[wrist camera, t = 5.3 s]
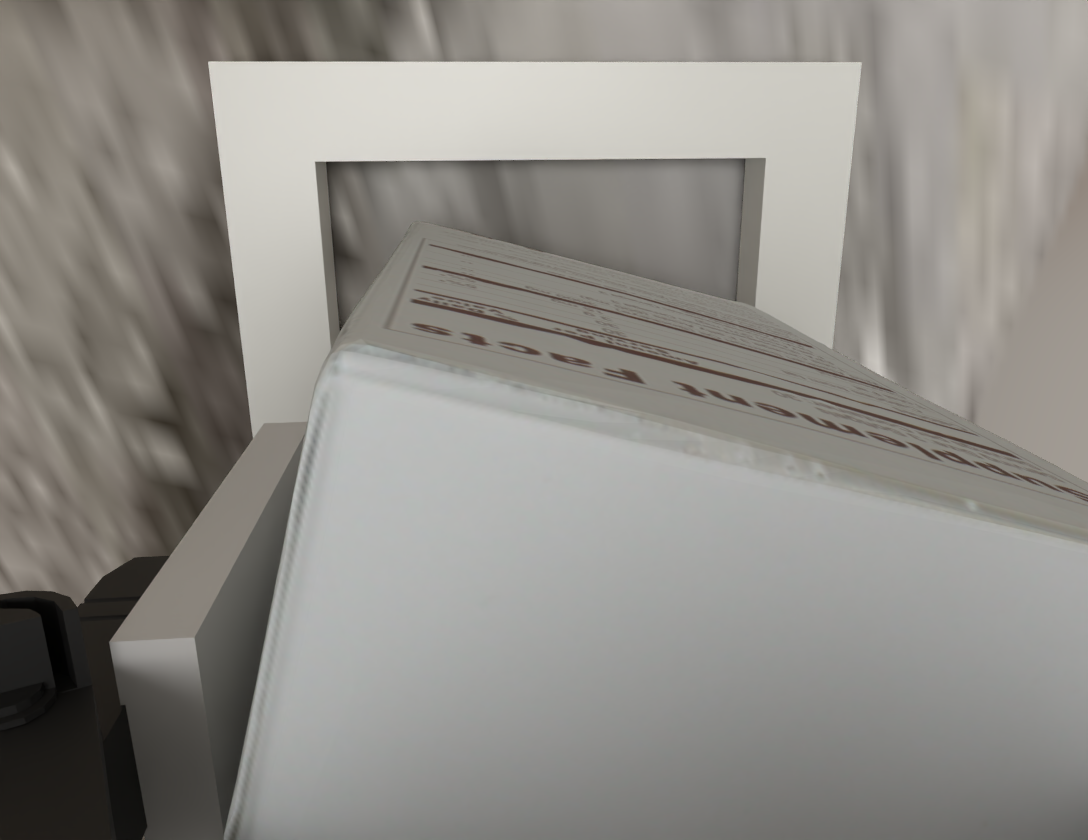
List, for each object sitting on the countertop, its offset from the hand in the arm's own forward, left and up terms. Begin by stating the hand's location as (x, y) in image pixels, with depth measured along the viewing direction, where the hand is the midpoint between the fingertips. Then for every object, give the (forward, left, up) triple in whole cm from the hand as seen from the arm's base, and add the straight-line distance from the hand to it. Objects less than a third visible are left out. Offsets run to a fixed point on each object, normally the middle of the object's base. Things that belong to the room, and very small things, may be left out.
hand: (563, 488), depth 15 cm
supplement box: (0, 0, -4) cm, 4 cm away
